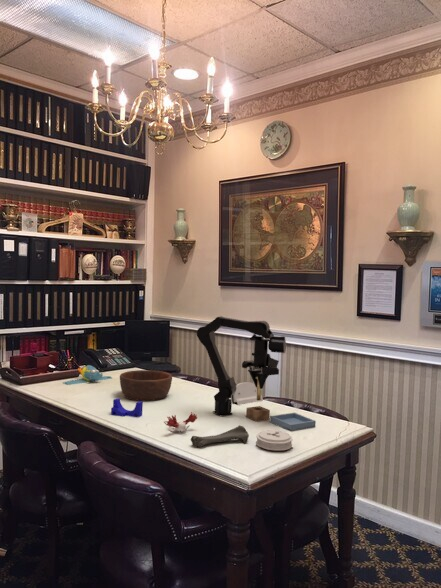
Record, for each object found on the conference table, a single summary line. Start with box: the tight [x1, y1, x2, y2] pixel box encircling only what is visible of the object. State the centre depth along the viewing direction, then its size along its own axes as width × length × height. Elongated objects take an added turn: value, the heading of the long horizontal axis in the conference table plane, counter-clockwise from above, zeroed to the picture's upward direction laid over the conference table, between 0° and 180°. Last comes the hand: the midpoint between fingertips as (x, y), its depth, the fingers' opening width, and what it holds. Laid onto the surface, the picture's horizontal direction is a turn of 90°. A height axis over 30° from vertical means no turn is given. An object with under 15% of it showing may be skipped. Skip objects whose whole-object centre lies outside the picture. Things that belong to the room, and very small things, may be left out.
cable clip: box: [110, 398, 144, 418], centre depth 206 cm, size 12×4×6 cm, turn 73°
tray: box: [269, 412, 317, 432], centre depth 202 cm, size 13×13×2 cm
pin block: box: [245, 405, 271, 423], centre depth 209 cm, size 7×7×4 cm
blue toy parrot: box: [62, 364, 113, 386], centre depth 266 cm, size 28×9×15 cm
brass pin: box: [256, 376, 262, 400], centre depth 208 cm, size 3×3×10 cm
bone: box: [190, 424, 249, 448], centre depth 176 cm, size 22×6×6 cm, turn 116°
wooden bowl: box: [119, 369, 173, 402], centre depth 239 cm, size 25×25×10 cm
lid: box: [255, 429, 293, 451], centre depth 175 cm, size 13×13×5 cm
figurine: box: [163, 411, 198, 433], centre depth 188 cm, size 15×12×7 cm
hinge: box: [230, 381, 264, 406], centre depth 237 cm, size 17×5×10 cm, turn 129°
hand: (259, 387), depth 208 cm, fingers closed on brass pin, 3 cm apart
